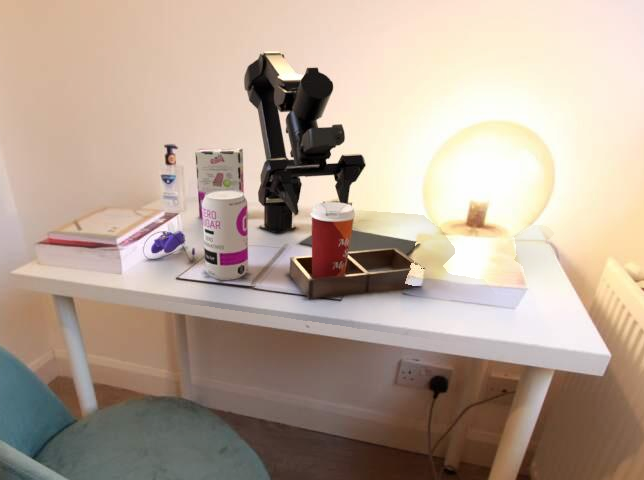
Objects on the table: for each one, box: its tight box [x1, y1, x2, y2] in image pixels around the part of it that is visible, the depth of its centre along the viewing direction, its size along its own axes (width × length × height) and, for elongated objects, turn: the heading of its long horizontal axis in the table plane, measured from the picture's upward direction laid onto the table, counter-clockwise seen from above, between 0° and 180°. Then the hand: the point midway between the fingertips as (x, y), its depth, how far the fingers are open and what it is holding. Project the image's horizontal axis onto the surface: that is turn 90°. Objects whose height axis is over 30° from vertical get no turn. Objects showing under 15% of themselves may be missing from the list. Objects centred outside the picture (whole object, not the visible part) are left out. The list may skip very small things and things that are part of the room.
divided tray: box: [289, 248, 426, 300], centre depth 90 cm, size 11×21×4 cm, turn 102°
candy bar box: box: [195, 148, 245, 219], centre depth 124 cm, size 11×5×16 cm, turn 81°
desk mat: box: [299, 229, 417, 256], centre depth 108 cm, size 22×14×1 cm, turn 55°
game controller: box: [142, 230, 196, 263], centre depth 101 cm, size 10×8×10 cm
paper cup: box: [309, 202, 357, 278], centre depth 87 cm, size 8×8×14 cm
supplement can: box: [202, 190, 249, 281], centre depth 92 cm, size 8×8×15 cm
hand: (321, 212), depth 89 cm, fingers open, 9 cm apart
